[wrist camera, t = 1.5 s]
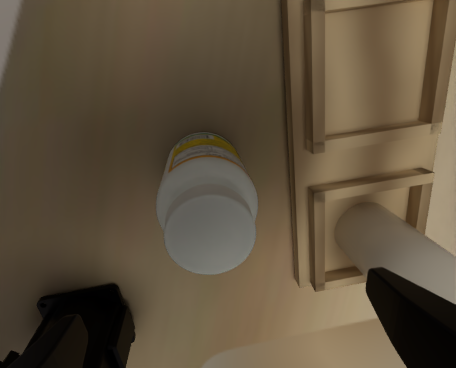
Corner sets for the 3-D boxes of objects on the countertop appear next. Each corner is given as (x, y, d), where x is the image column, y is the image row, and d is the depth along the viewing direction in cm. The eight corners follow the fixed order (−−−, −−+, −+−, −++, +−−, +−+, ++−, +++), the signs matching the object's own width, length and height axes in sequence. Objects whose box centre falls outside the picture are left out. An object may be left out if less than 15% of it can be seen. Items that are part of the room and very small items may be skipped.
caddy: (295, 278, 26) (304, 298, 23) (280, -2, 17) (294, -12, 15) (408, 257, 26) (428, 274, 24) (447, -23, 18) (483, -36, 16)
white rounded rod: (333, 257, 24) (423, 374, 15) (334, 207, 22) (437, 304, 13) (387, 247, 24) (509, 355, 15) (392, 197, 22) (534, 285, 13)
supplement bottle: (192, 115, 19) (192, 152, 10) (253, 157, 21) (297, 218, 12) (152, 177, 21) (122, 256, 12) (213, 211, 22) (226, 303, 13)
